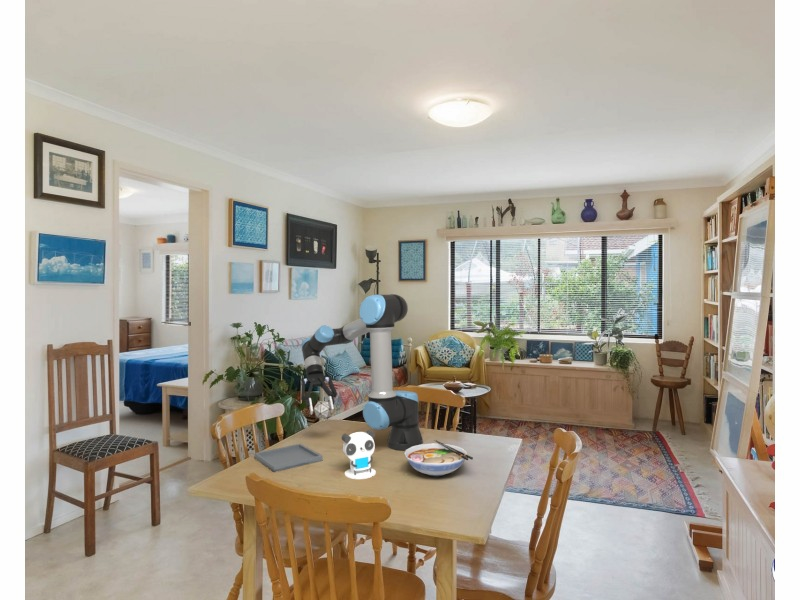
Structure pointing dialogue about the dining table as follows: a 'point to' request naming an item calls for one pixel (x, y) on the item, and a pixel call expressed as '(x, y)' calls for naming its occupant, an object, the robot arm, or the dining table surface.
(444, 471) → the ramen bowl
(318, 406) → the game die
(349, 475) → the panda figurine
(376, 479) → the dining table surface
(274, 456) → the tray
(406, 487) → the dining table surface
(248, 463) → the dining table surface
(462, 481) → the dining table surface
